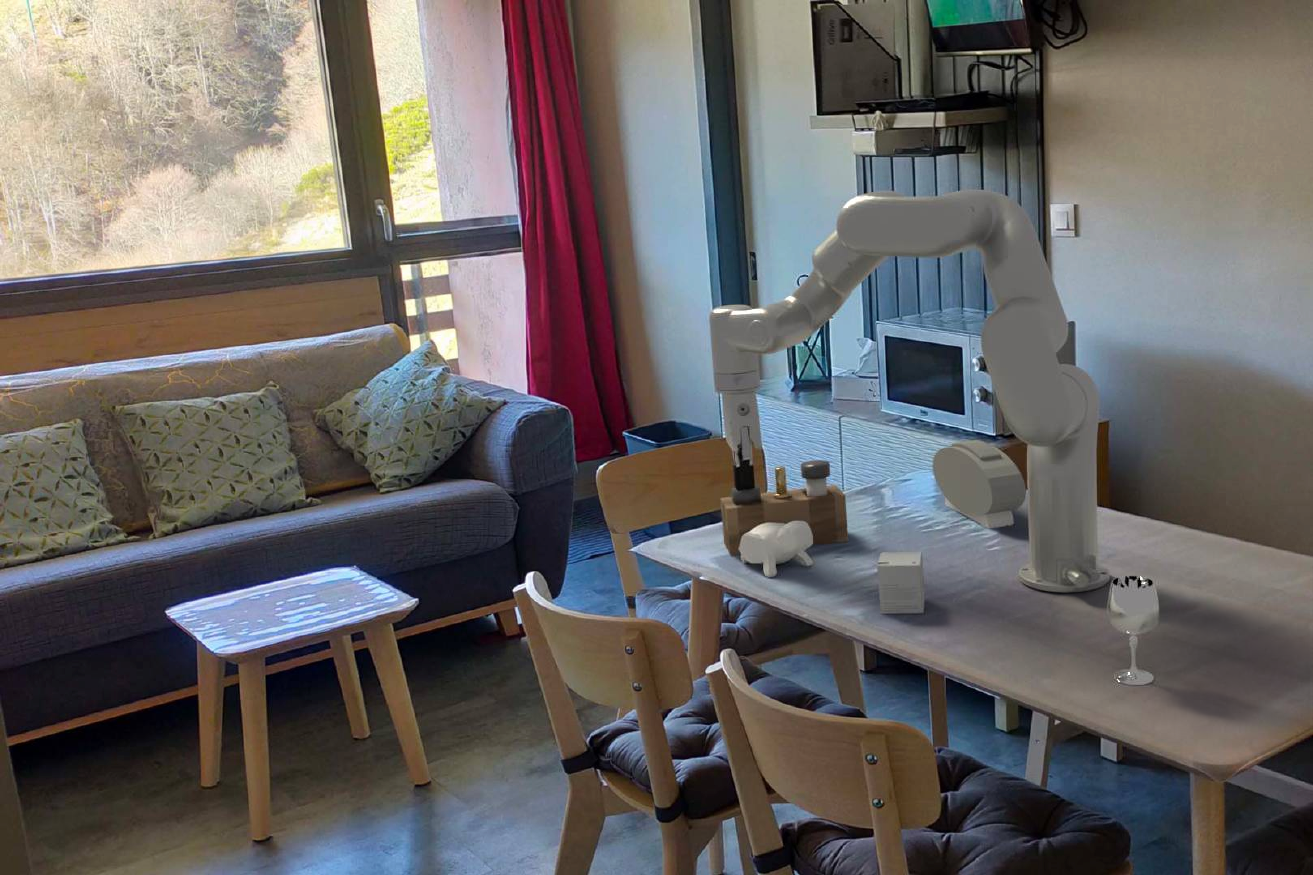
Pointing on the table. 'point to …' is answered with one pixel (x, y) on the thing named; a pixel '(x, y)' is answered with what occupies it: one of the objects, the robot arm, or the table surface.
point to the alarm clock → (979, 482)
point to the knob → (815, 477)
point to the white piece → (776, 545)
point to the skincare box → (901, 582)
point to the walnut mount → (787, 516)
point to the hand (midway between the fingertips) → (744, 488)
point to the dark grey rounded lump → (746, 495)
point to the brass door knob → (781, 484)
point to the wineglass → (1133, 618)
